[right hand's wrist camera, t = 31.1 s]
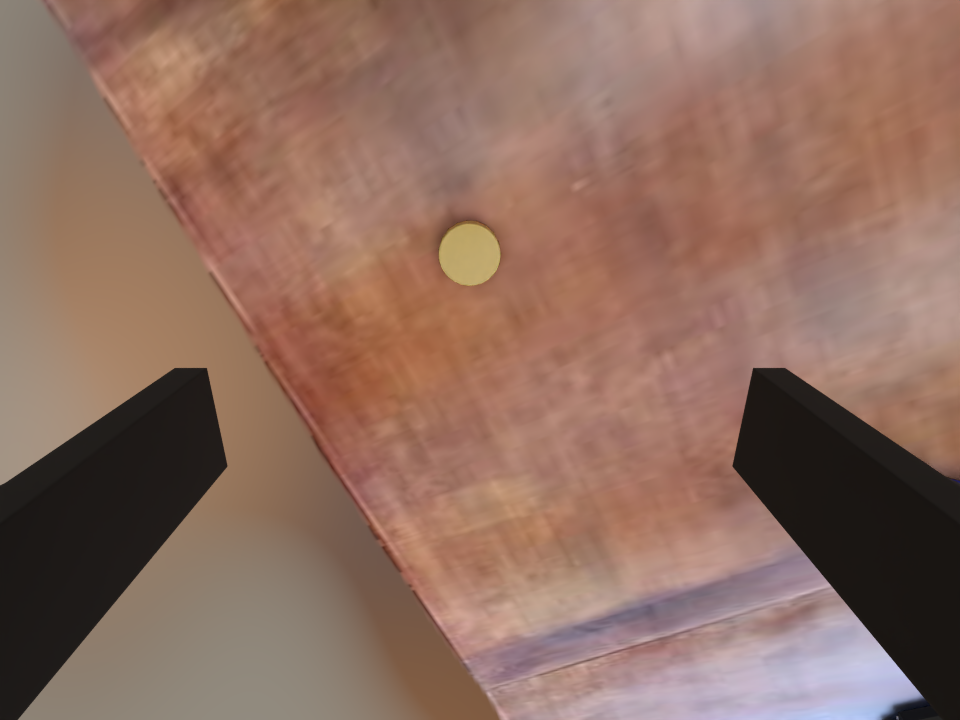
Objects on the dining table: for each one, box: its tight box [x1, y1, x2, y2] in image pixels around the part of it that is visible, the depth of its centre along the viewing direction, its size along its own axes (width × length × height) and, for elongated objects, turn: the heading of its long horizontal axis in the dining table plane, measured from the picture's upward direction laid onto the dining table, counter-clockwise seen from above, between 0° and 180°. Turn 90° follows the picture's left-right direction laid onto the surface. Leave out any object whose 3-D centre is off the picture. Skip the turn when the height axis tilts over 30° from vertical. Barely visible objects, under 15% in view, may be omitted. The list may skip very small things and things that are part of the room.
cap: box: [438, 220, 501, 286], centre depth 36 cm, size 4×4×2 cm
